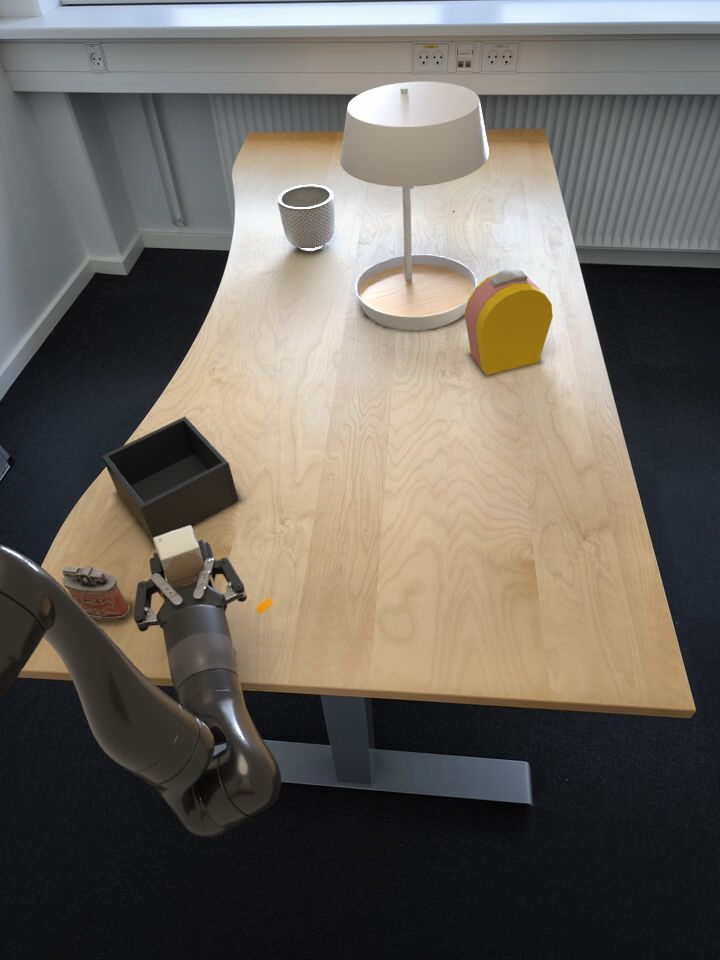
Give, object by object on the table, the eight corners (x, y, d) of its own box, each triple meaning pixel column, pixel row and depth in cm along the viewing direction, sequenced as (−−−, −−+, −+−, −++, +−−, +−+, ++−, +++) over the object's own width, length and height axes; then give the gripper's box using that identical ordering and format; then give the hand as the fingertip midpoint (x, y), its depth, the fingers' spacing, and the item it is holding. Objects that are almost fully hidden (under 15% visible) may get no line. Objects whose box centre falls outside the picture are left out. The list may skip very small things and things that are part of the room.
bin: (156, 546, 119) (140, 508, 112) (117, 493, 128) (101, 455, 122) (238, 500, 125) (228, 462, 118) (196, 453, 134) (185, 416, 128)
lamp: (369, 347, 154) (355, 136, 124) (340, 280, 175) (321, 85, 145) (500, 321, 158) (516, 110, 128) (456, 259, 178) (461, 64, 148)
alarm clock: (527, 338, 153) (536, 257, 140) (546, 360, 147) (557, 277, 134) (461, 355, 150) (464, 274, 137) (478, 377, 144) (483, 295, 132)
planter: (273, 249, 188) (265, 200, 179) (310, 228, 195) (304, 180, 186) (312, 264, 181) (306, 214, 172) (349, 241, 188) (345, 192, 179)
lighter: (134, 604, 111) (114, 562, 104) (125, 623, 108) (104, 581, 101) (85, 598, 112) (62, 557, 105) (75, 617, 110) (51, 576, 103)
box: (178, 614, 97) (157, 561, 89) (171, 590, 100) (150, 537, 92) (216, 599, 98) (199, 546, 91) (208, 576, 101) (190, 523, 94)
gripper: (256, 617, 83) (227, 516, 95) (130, 656, 81) (116, 547, 92) (266, 653, 89) (237, 553, 100) (147, 691, 86) (132, 583, 98)
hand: (179, 550), depth 96 cm, fingers closed on box, 5 cm apart
